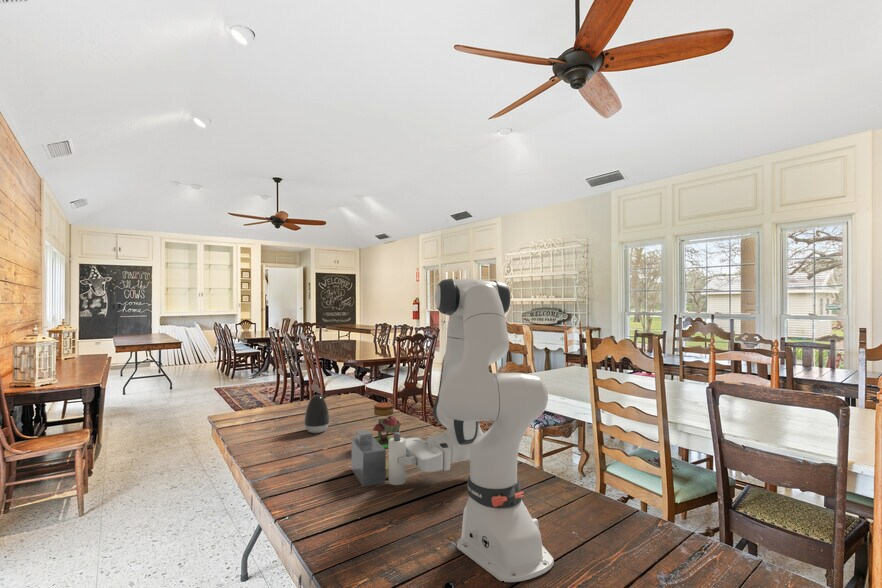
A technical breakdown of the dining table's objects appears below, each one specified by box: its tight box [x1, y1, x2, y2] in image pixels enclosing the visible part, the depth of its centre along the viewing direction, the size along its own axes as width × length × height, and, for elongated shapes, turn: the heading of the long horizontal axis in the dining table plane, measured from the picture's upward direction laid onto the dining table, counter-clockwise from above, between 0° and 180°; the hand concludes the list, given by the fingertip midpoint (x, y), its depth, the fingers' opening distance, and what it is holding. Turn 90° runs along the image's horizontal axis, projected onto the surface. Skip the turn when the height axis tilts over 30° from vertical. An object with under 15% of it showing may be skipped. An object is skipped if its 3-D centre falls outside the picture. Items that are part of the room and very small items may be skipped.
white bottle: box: [388, 431, 407, 486], centre depth 123 cm, size 5×5×14 cm
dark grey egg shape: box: [303, 394, 331, 434], centre depth 176 cm, size 10×10×15 cm
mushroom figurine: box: [372, 401, 402, 449], centre depth 162 cm, size 12×13×15 cm
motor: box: [351, 428, 389, 488], centre depth 136 cm, size 16×13×13 cm
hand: (394, 457), depth 123 cm, fingers closed on white bottle, 5 cm apart
